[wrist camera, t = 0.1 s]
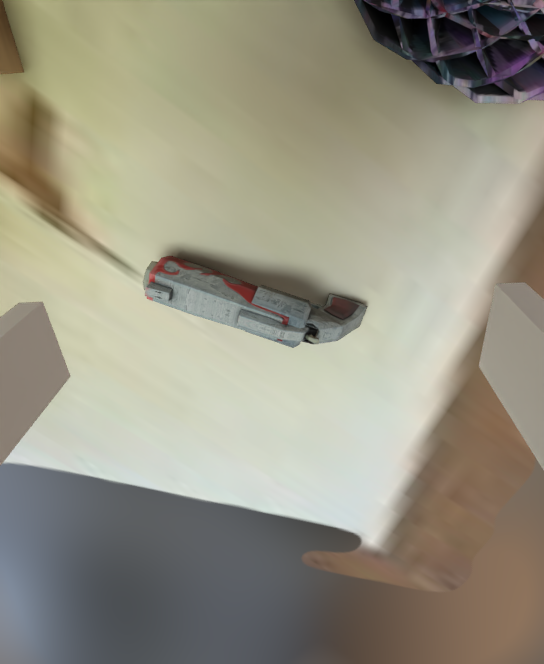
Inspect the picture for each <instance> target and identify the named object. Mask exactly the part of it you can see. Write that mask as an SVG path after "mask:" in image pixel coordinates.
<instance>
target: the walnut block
mask: <svg viewBox="0 0 544 664" xmlns="http://www.w3.org/2000/svg"><path fill="white" fill-rule="evenodd" d="M21 72H24V70H23V67H22V64H21V60H20V57H19V54H18V51H17V47H16V44H15V41H14V38H13V34H12V31H11V28H10V24H9V21H8V18H7V15H6V11H5V8H4V5H3V1H2V0H0V74H9V73H21Z"/></svg>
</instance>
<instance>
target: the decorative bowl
mask: <svg viewBox="0 0 544 664" xmlns="http://www.w3.org/2000/svg"><path fill="white" fill-rule="evenodd" d="M354 1H355V3H356V5H357V7H358V9H359V11H360V13H361V15H362V17H363V19H364V21H365V23H366V25H367V27H368V29H369V31H370V33H371V35H372V37H373V39H374V40H375V41H377V42H378V43H380V44H382V45H383V46H385V47H387V48H388V49H390V50H392V51H393V52H395V53H397V54H398V55H400V56H402V57H403V58H405V59H408V60H412V61H413V62H414V63H415V64H416V65H417V66H418V67H419V68H420V69H421V70H423V71H424V72H425V73H426V74H427V75H428V76H429V77H430V78H431V79H432V80H433V81H434V82H435V83H436V84H444V85H452V86H454V87H455V88H456V89H458V90H459V91H460V92H462V93H463V94H464V95H466V96H467V97H468V98H470V99H471V100H473V101H474V102H475V103H514V104H519V103H521V102H524V101H526V100H544V0H354Z"/></svg>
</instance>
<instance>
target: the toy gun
mask: <svg viewBox="0 0 544 664" xmlns="http://www.w3.org/2000/svg"><path fill="white" fill-rule="evenodd" d="M143 286H144V290H145V296H147V299H149V300H152V301H155V302H158V303H161V304H164V305H167V306H169V307H172V308H175V309H178V310H181V311H184V312H187V313H189V314H192V315H195V316H199V317H202V318H205V319H209V320H212V321H215V322H218V323H222V324H225V325H228V326H232V327H235V328H238V329H242V330H245V331H246V332H249V333H252V334H255V335H257V336H260V337H263V338H266V339H269V340H272V341H275V342H278V343H281V344H284V345H286V346H289V347H292V348H294V347H296V346H298V345H299V344H300V342H301V341H303V342H306V343H310V344H319V343H326V342H332V341H338V340H339V339H341V338H342V337H344V336H345V335H347V334H348V333H350V332H351V331H353V330H354V329H356V328H358V327H359V326H360V324H361V321H362V319H363V316H364V314H365V311H366V309H367V306H366V305H364V304H362V303H360V302H356V301H353V300H349V299H346V298H343V297H339V296H336V295H333V294H329V297H328V300H327V303H326V306H323V307H322V306H321V305H318V304H313V303H310V302H309V300H306V299H303V298H300V297H296V296H293V295H290V294H287V293H284V292H281V291H278V290H275V289H272V288H269V287H266V286H263V285H261V286H259V287H257V286H255V285H252V284H249V283H247V282H244V281H241V280H239V279H236V278H233V277H231V276H228V275H225V274H223V273H221V272H218V271H215V270H212V269H209V268H206V267H204V266H201V265H198V264H195V263H192V262H189V261H186V260H182V259H179V258H176V257H173V256H167V257H163V258H161V259H160V260H159V262H154V261H152V262H151V263H150V265H149V266H148V267H147V269H146V272H145V276H144V279H143Z"/></svg>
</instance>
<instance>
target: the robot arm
mask: <svg viewBox="0 0 544 664" xmlns="http://www.w3.org/2000/svg"><path fill="white" fill-rule="evenodd" d="M479 367H480V369H481V371H482V372H483V374H484V375H485V377H486V379H487V380H488V382H489V383H490V385H491V387H492V388H493V390H494V391H495V393H496V395H497V396H498V398H499V399H500V401H501V403H502V404H503V406H504V407H505V409H506V411H507V412H508V414H509V415H510V417H511V419H512V420H513V422H514V424H515V425H516V427H517V428H518V430H519V432H520V433H521V435H522V436H523V438H524V440H525V441H526V443H527V444H528V446H529V448H530V449H531V451H532V452H533V454H534V456H535V457H536V459H537V460H538V462H539V464H540V465H541V467H542V468H543V470H544V299H543V298H541V297H540V296H539V295H538V294H537V293H536V292H535V291H534V290H533V289H531V288H530V287H529V286H528V285H527V284H526V283H500V284H495V289H494V294H493V299H492V304H491V309H490V314H489V319H488V324H487V329H486V334H485V338H484V343H483V348H482V353H481V358H480V363H479ZM69 378H70V373H69V371H68V368H67V365H66V363H65V360H64V357H63V355H62V352H61V349H60V347H59V344H58V341H57V339H56V336H55V333H54V331H53V328H52V325H51V323H50V320H49V317H48V314H47V312H46V309H45V306H44V304H43V302H26V303H18V304H17V305H15V306H14V307H13V308H11V309H10V310H9V311H8V312H6V313H5V314H4V315H3V316H1V317H0V465H1V464H2V463H3V462H4V460H5V459H6V458H7V456H8V455H9V454H10V453H11V451H12V450H13V449H14V448H15V446H16V445H17V444H18V442H19V441H20V440H21V439H22V437H23V436H24V435H25V434H26V432H27V431H28V430H29V428H30V427H31V426H32V425H33V423H34V422H35V421H36V420H37V418H38V417H39V416H40V414H41V413H42V412H43V411H44V409H45V408H46V407H47V406H48V404H49V403H50V402H51V400H52V399H53V398H54V397H55V395H56V394H57V393H58V392H59V390H60V389H61V388H62V386H63V385H64V384H65V383H66V381H67V380H68V379H69Z"/></svg>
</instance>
